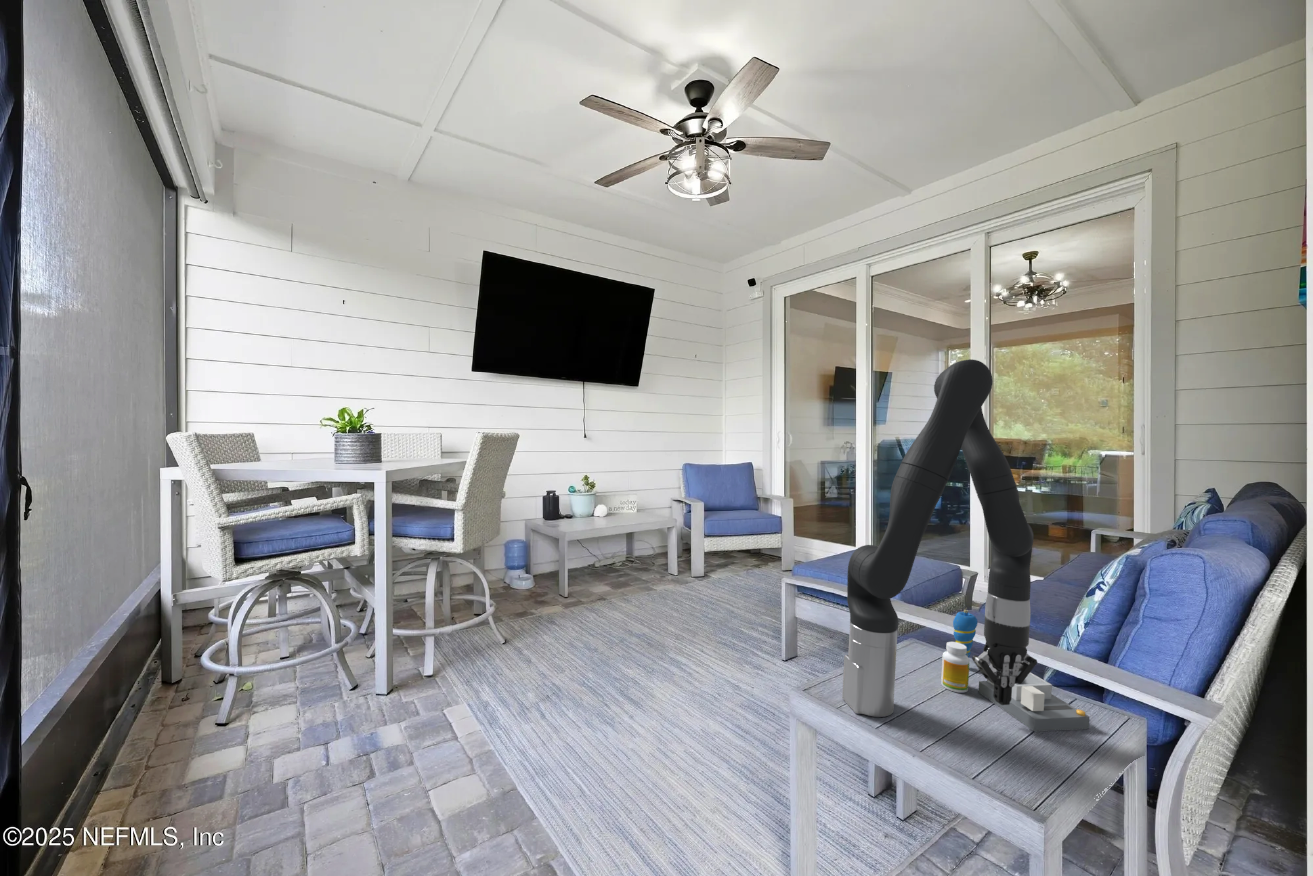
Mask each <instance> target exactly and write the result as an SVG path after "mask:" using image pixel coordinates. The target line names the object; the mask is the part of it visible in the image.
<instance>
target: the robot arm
mask: <svg viewBox="0 0 1313 876" xmlns="http://www.w3.org/2000/svg"><path fill="white" fill-rule="evenodd" d="M993 382H994V381H993V375H992V373H991V370H990V368H989V367H988V366H987V365H986V364H985V363H984V362H982V361H980V360H977V359H963V360H960V361H956V362H955V363H953V364H951V365H949V366H948V367H947V368H946V369H944V370H943V371H942V372H941V373H940V374H939V375H937V377H936V379H935V381H934V385H933V391H934V395H935V397H936V401H935V405H934V407H933V409H932V412H931V415H930V417H929V418H928V420H927V422H926V424H925V425H924V427H923V428H922V429H921V431H920V432H919V434H918V435H917V437H916V438H915V440H914V441H913V442H912V444H911V445H910V446H909V448H908V449H907V452H906V453H905V455H904V457H903V459H902V460H901V463H900V465H899V467H898V469H897V471H896V474H895V476H894V477H893V481H892V484H891V489H890V494H889V495H890V498H889V516H888V523H887V527H886V529H885V532H884V534H883V537H882V538H881V541H880V543H879V545H878V546H877V545H873V544H865V545H862V546H860V547H858V548H856V549H855V550H854V551H853V552H852V554H851V556H850V558H849V560H848V565H847V579H846V580H847V583H846V585H847V591H846V592H847V593H846V599H847V600H846V601H847V606H848V610H849V635H848V652H847V653H848V654H845V655H844V657H843V674H842V675H843V677H842V691H841V693H842V694H841V695H842V696H841V698H842V700H843V701H844V702H845V704H847V706H848V707H850V708H851V710H852V712H854V713H855V714H859V715H860V714H862V715H865V716H868V717H873V718H874V717H876V718H881V717H883V718H885V717H888V716H891V715H892V714H893V712H894V706H895V705H894V704H895V687H896V686H895V685H896V664H897V663H896V662H897V650H898V649H897V647H898V646H897V644H898V631H899V630H898V629H899V628H898V627H899V617H898V614H897V612H896V610H895V608H894V606H893V603H892V600H891V599H892V598H895V597H896V596H898V595H900V593H901V592H902V591H903V590H904V588H905V587H906V585H907V584H908V581H909V578H910V575H911V572H912V569H913V566H914V563H915V560H916V558H917V557H916V556H917V553H918V550H919V547H920V544H921V541H922V539H923V537H924V534H925V532H926V531H927V528H928V525H929V523H930V521H931V518H932V515H933V513H934V511H935V509H936V506H937V505H938V503H939V501H940V499H941V497H942V494H943V493H944V490H945V487H946V485H947V484H948V481H949V479H950V477H951V474H952V471H953V468H954V466H955V464H956V462H957V459H958V457H959V455H960V452H961V451H962V453H963V457H964V460H965V462H966V466H967V467H968V471H969V474H970V476H971V481H972V483H973V487H974V489H975V490H974V491H975V493H976V495H977V499H978V502H979V503H980V506H981V508H982V513H983V516H984V517H983V518H984V521H985V526H986V531H987V534H988V537H989V540H990V543H991V564H990V567H989V572H988V579H987V581H988V582H987V594H986V599H985V607H984V626H983V636H984V639H985V644H984V645H983V652H982V653H981V654H979V656H978V655H977V654H974V655H972V658H971V659H972V661H973V662H974V664H975V665H976V667H977V668H978V670H979V671H980V673H981V674H982V676H983V677H984V678H985V679H986V681H987V680H989V681H990V682H992V683H993V684H994V692H993V693H994V694H993V697H994V699H995V701H996V702H998V703H999V704H1001V705H1009V704H1010V701H1011V698H1012V697H1011V696H1012V687H1014V685H1015V684H1016V683H1018V684H1021V683H1022V682H1023V681H1024V680H1025V678H1026V677H1027V676H1028V674H1029V673H1030V672H1031V673H1032V670H1033V669H1034V668H1035V667H1036V665H1037V663H1038V660H1037V659H1036V658H1035V657H1033V656H1030V655H1029V654H1028V648H1027V647H1029V643H1030V631H1031V630H1030V629H1031V615H1032V614H1031V603H1030V601H1031V586H1032V585H1031V584H1032V583H1031V581H1032V580H1031V579H1032V578H1031V571H1030V570H1031V569H1030V568H1031V561H1032V552H1033V546H1034V545H1033V544H1034V532H1033V529H1032V527H1031V525H1030V524H1029V523H1028V521H1027V518H1026V516H1025V513H1024V510H1023V508H1022V506H1021V502H1020V495H1019V490H1018V487H1017V484H1016V481H1015V478H1014V474H1013V472H1012V470H1011V466H1010V464H1009V462H1008V460H1007V458H1006V456H1005V455H1004V452H1003V451H1002V449H1001V448H1000V446H999V444H998V443H997V441H996V439H995V438H994V437H993V435H992V433H991V432H990V429H989V428H988V424H987V422H986V419H985V416H984V413H983V408H982V407H983V405H984V403H985V402H986V400H987V398H988V397H989V395H990V394H991V391H992V390H993V389H992V388H993ZM1019 671H1021V673H1020V674H1019V675H1018V672H1019ZM999 676H1000V678H999Z"/></svg>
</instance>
